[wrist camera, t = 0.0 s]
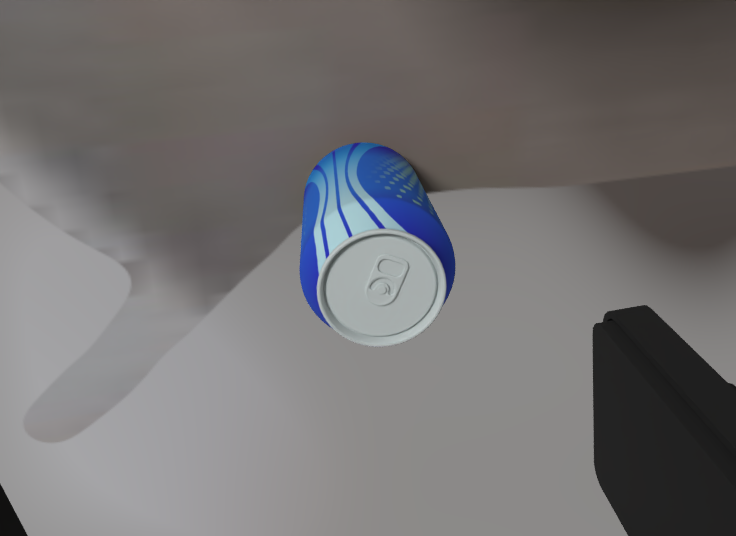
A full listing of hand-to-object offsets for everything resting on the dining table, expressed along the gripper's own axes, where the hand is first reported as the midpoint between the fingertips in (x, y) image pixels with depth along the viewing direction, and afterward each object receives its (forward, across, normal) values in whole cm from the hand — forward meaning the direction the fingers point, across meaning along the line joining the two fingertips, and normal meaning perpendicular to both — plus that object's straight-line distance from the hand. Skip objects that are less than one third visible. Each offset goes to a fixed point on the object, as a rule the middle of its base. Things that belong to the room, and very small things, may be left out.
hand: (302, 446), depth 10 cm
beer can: (+37, -2, +8) cm, 38 cm away
